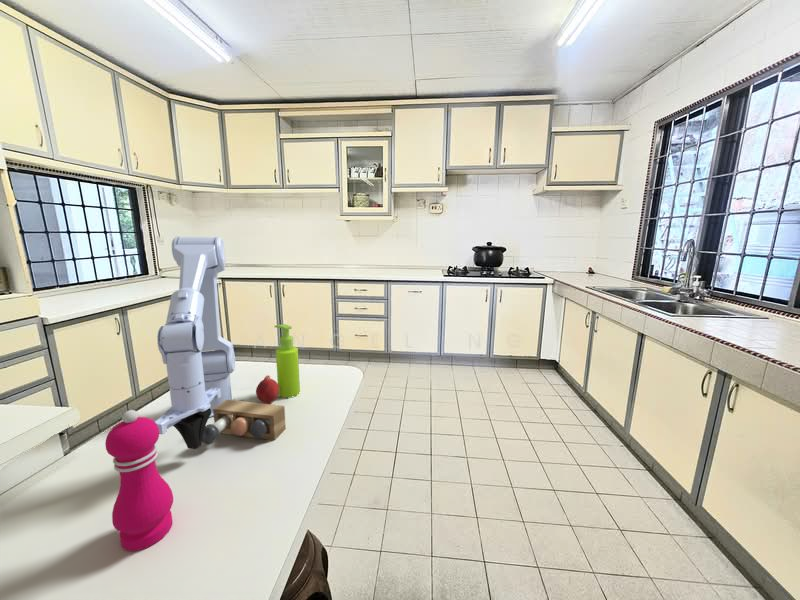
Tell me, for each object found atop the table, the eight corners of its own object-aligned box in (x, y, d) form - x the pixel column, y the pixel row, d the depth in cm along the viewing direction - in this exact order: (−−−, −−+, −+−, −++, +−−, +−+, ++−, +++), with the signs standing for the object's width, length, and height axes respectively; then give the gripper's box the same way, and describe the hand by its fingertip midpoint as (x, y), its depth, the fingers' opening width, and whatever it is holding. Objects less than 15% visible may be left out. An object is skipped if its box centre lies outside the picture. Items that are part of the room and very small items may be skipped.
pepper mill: (138, 514, 54) (120, 399, 50) (186, 511, 54) (171, 397, 51) (103, 556, 47) (79, 426, 43) (158, 553, 47) (139, 423, 44)
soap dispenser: (289, 386, 101) (285, 321, 97) (304, 392, 97) (301, 325, 93) (272, 393, 96) (267, 325, 92) (286, 400, 92) (282, 329, 88)
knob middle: (231, 434, 73) (229, 419, 73) (249, 419, 79) (247, 405, 79) (246, 436, 73) (244, 421, 72) (262, 421, 79) (261, 407, 78)
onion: (272, 410, 86) (270, 381, 85) (252, 408, 87) (250, 379, 86) (284, 399, 92) (282, 372, 90) (265, 397, 93) (263, 370, 92)
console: (215, 432, 76) (213, 408, 75) (228, 421, 81) (226, 399, 80) (275, 440, 74) (273, 415, 73) (285, 428, 78) (284, 405, 77)
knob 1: (199, 443, 70) (197, 427, 70) (220, 426, 76) (219, 412, 76) (214, 445, 70) (212, 429, 69) (234, 428, 76) (233, 414, 75)
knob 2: (249, 437, 73) (248, 421, 72) (266, 421, 79) (265, 407, 78) (264, 438, 72) (263, 423, 71) (280, 423, 78) (279, 409, 77)
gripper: (172, 403, 56) (181, 474, 59) (231, 370, 70) (236, 428, 73) (138, 398, 58) (148, 468, 60) (202, 367, 72) (208, 425, 74)
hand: (194, 446), depth 67 cm, fingers closed
